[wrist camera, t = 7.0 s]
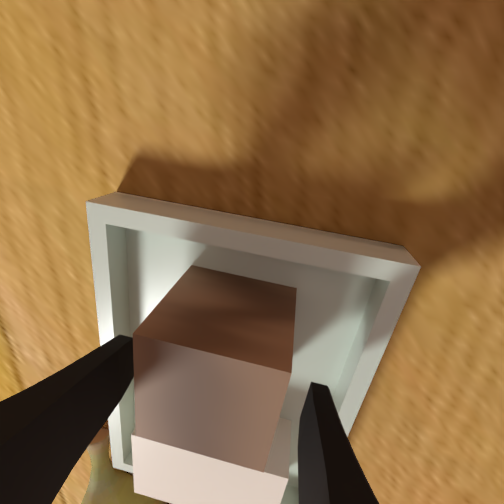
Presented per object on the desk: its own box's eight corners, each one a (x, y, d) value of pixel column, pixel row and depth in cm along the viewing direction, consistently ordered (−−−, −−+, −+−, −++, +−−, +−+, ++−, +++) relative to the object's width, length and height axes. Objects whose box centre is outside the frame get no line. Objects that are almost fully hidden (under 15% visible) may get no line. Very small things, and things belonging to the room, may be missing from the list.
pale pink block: (291, 420, 16) (288, 478, 14) (275, 473, 18) (270, 533, 16) (159, 386, 17) (131, 434, 14) (158, 441, 19) (134, 492, 16)
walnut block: (296, 288, 13) (291, 373, 8) (276, 369, 15) (263, 472, 10) (191, 264, 13) (132, 333, 9) (185, 346, 15) (135, 435, 11)
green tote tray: (403, 246, 12) (420, 266, 10) (308, 488, 19) (309, 525, 18) (115, 191, 13) (85, 201, 11) (129, 437, 21) (112, 467, 19)
